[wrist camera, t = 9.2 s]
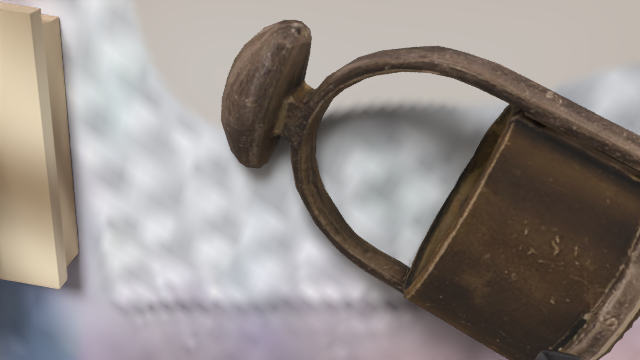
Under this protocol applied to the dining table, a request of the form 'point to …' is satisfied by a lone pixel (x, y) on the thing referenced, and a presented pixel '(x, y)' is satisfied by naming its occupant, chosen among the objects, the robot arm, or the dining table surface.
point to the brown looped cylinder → (474, 198)
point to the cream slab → (34, 151)
